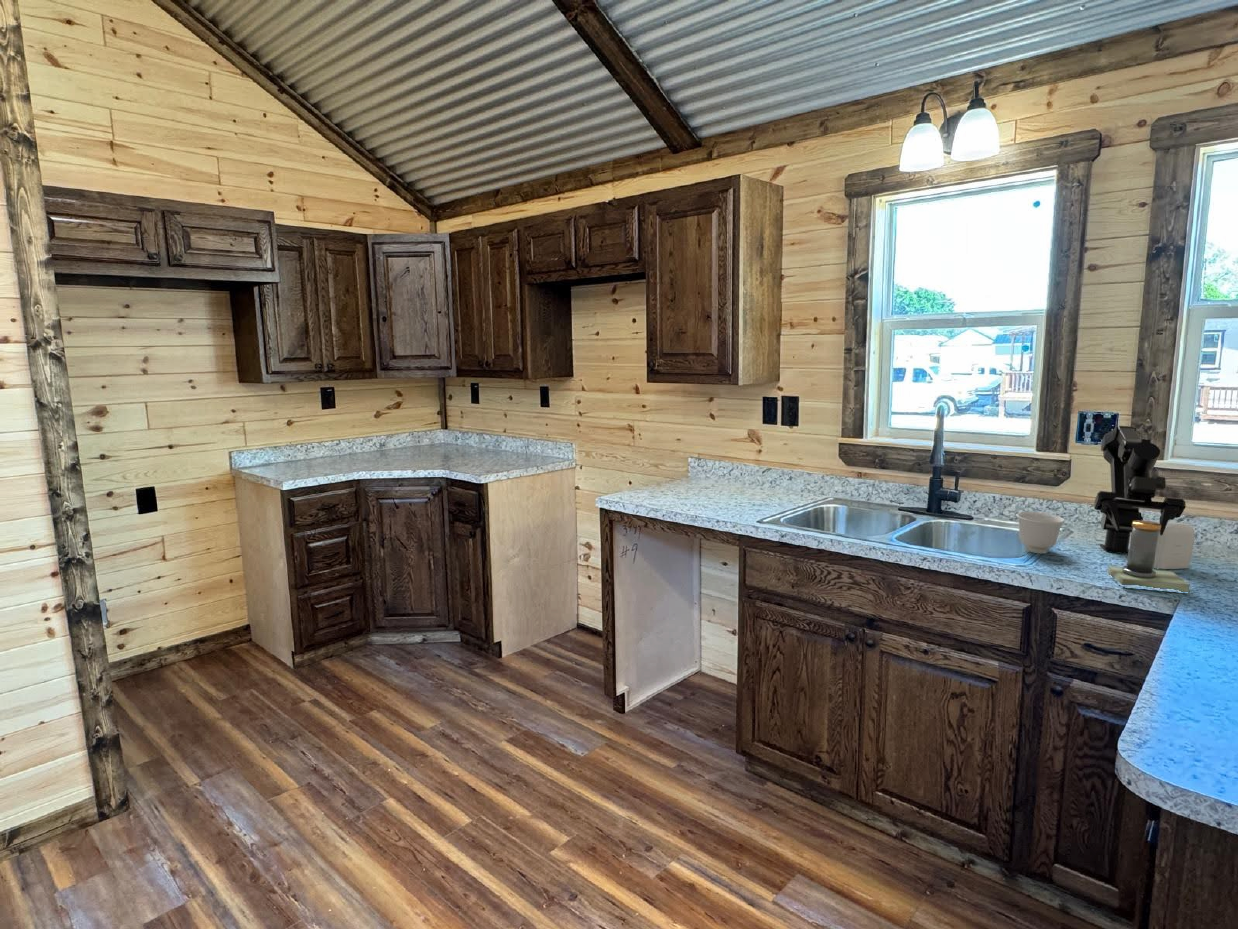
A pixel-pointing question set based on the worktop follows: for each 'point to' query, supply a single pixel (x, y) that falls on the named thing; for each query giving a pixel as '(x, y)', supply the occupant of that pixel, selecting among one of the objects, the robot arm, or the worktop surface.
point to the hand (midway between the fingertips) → (1139, 532)
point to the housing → (1142, 549)
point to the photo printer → (1174, 547)
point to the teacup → (1038, 530)
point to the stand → (1151, 579)
